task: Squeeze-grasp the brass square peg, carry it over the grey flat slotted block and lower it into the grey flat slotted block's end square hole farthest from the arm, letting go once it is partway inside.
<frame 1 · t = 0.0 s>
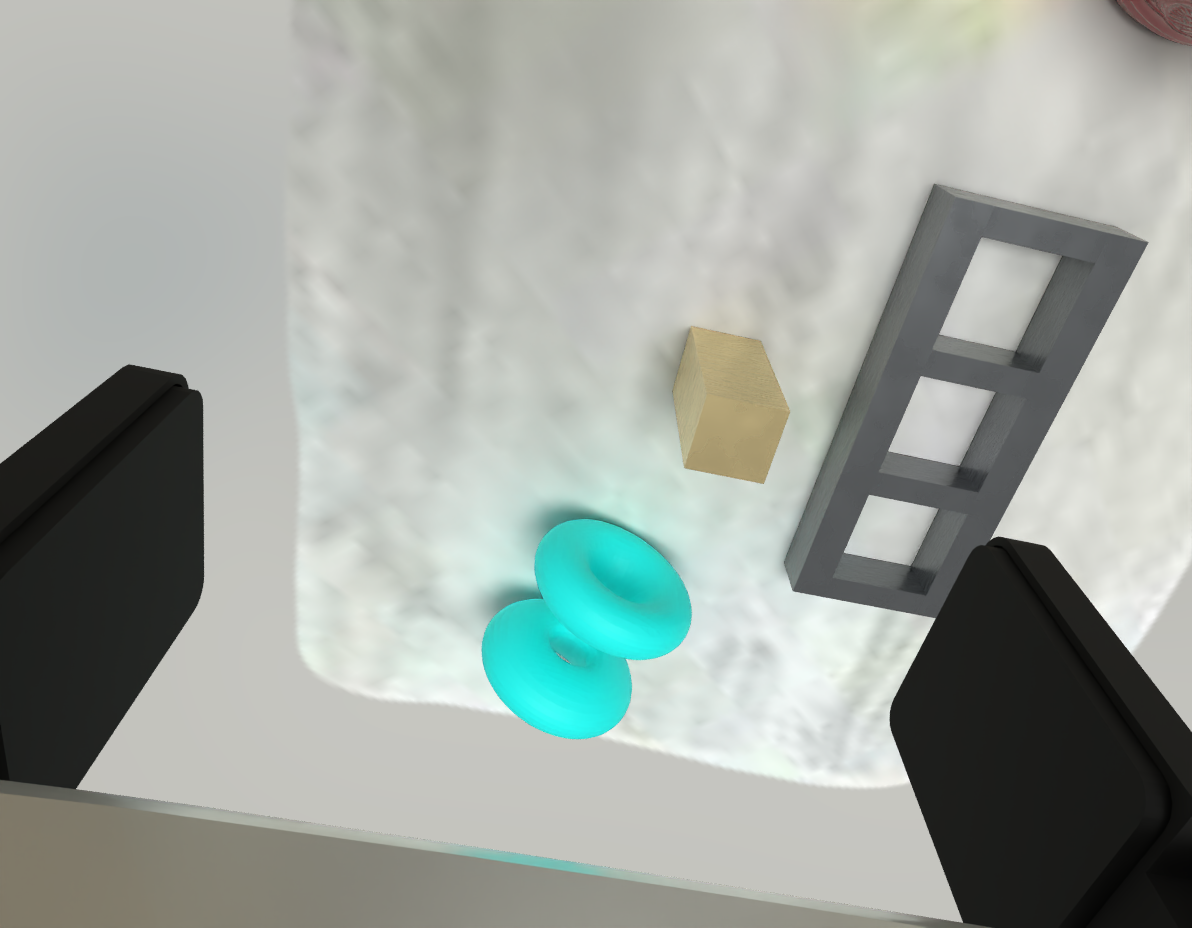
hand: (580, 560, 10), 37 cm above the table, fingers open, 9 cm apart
grey flat slotted block: (932, 412, 50), on the table
brass peg: (715, 366, 49), on the table
donuts: (587, 575, 56), on the table
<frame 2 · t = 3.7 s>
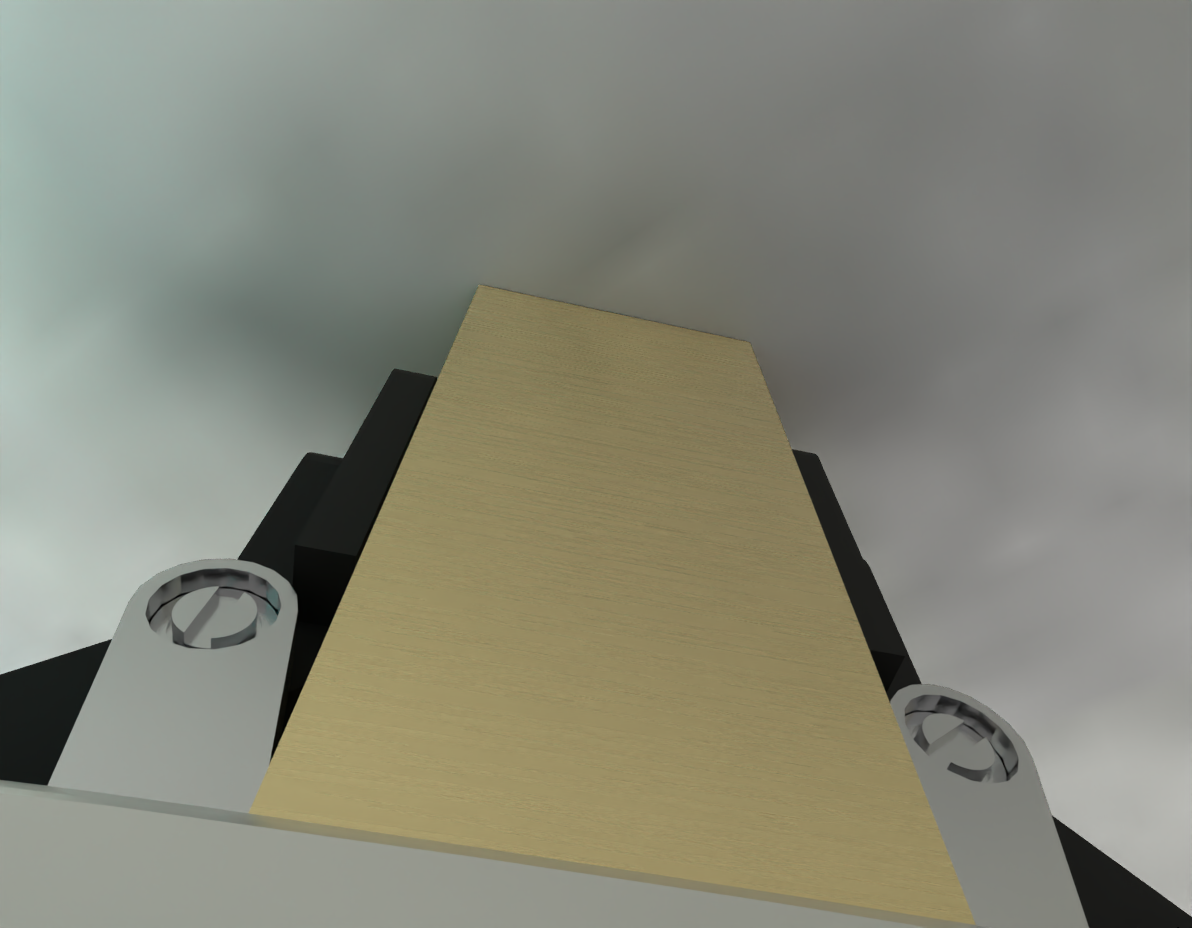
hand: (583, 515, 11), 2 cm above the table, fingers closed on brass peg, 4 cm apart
brass peg: (587, 434, 13), on the table, touching gripper
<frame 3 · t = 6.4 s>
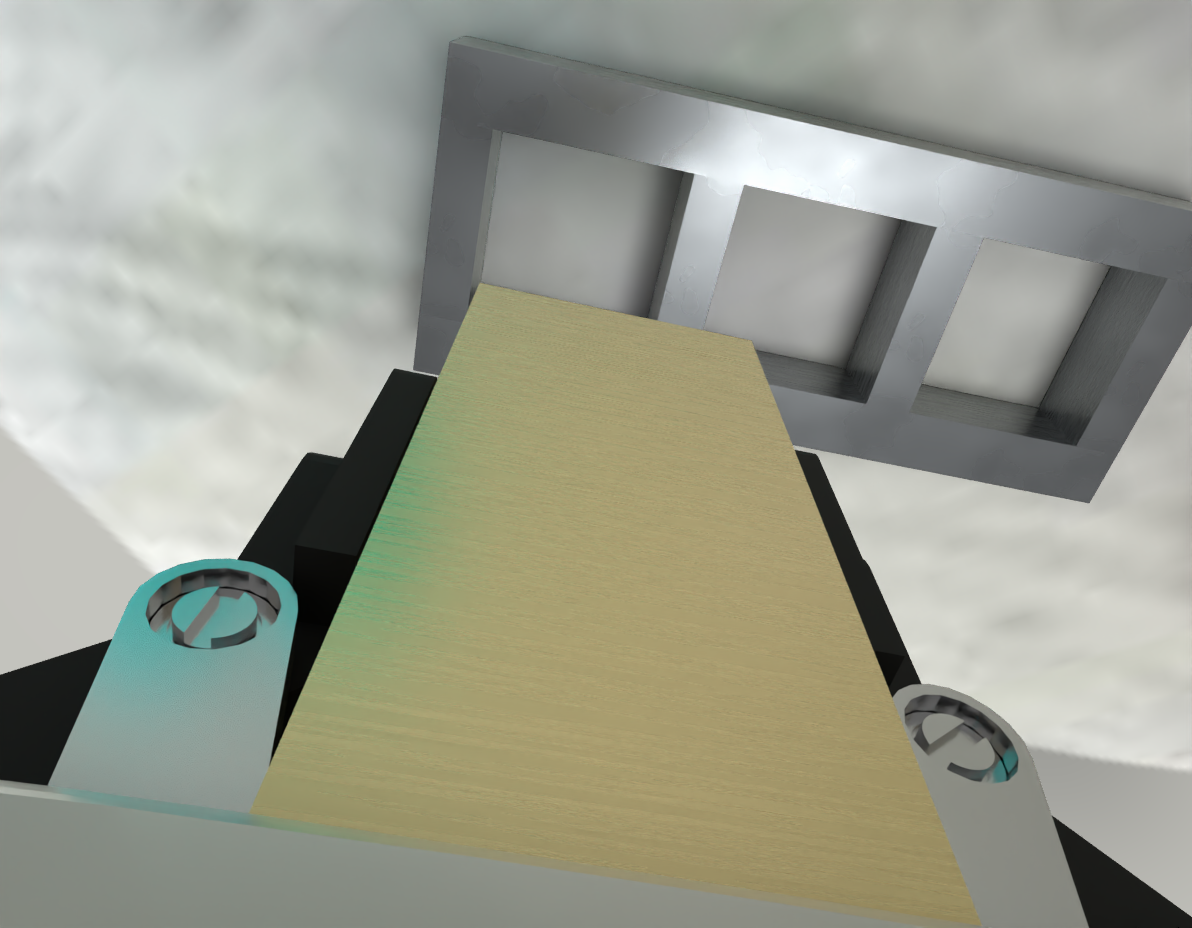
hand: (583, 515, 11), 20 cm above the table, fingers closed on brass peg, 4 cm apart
grey flat slotted block: (792, 272, 30), on the table
brass peg: (588, 433, 13), point 17 cm above the table, touching gripper
when the fingers open (4 cm above the table, at t = 9.2 s): brass peg drops 2 cm, resting in grey flat slotted block.
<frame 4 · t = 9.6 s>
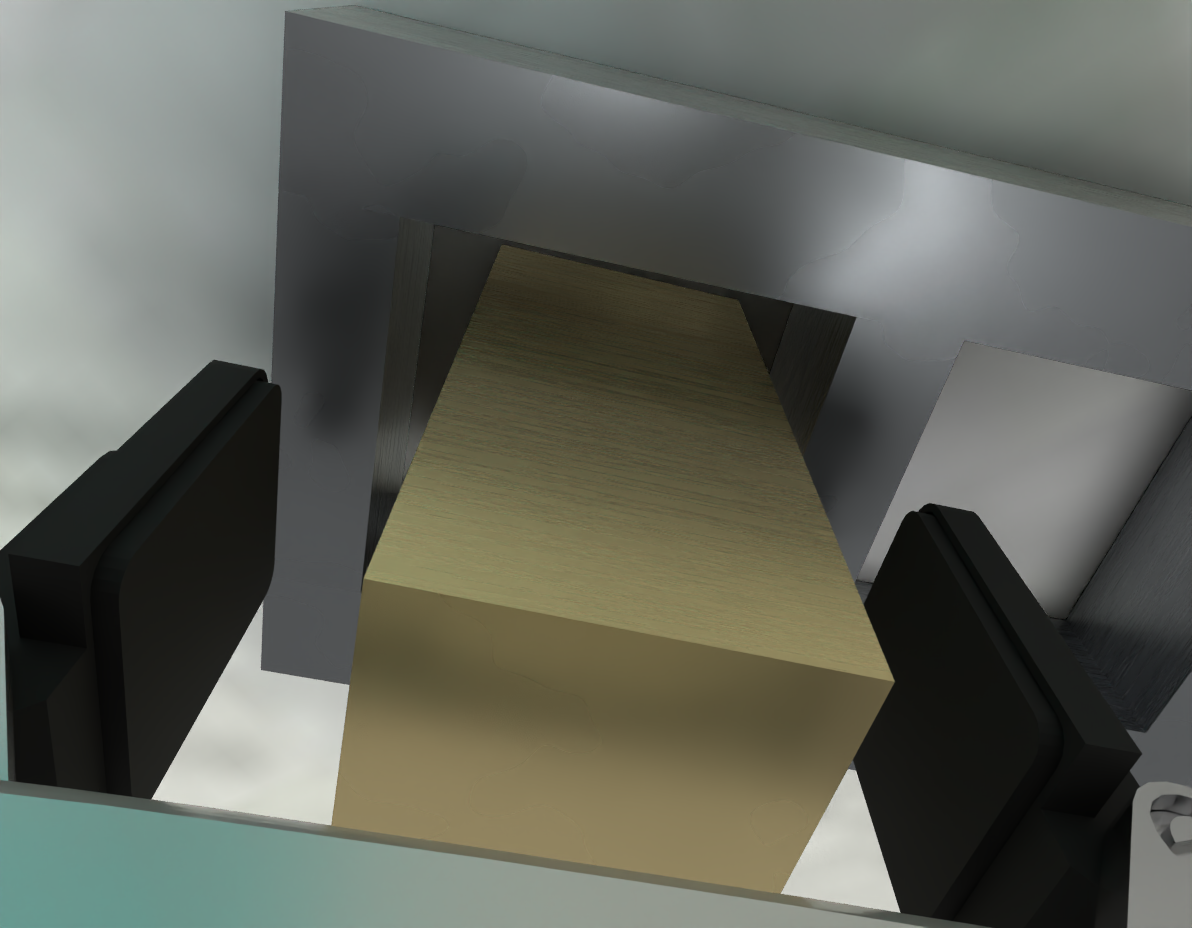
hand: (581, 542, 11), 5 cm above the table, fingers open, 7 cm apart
grey flat slotted block: (991, 466, 16), on the table
brass peg: (593, 381, 15), resting in grey flat slotted block
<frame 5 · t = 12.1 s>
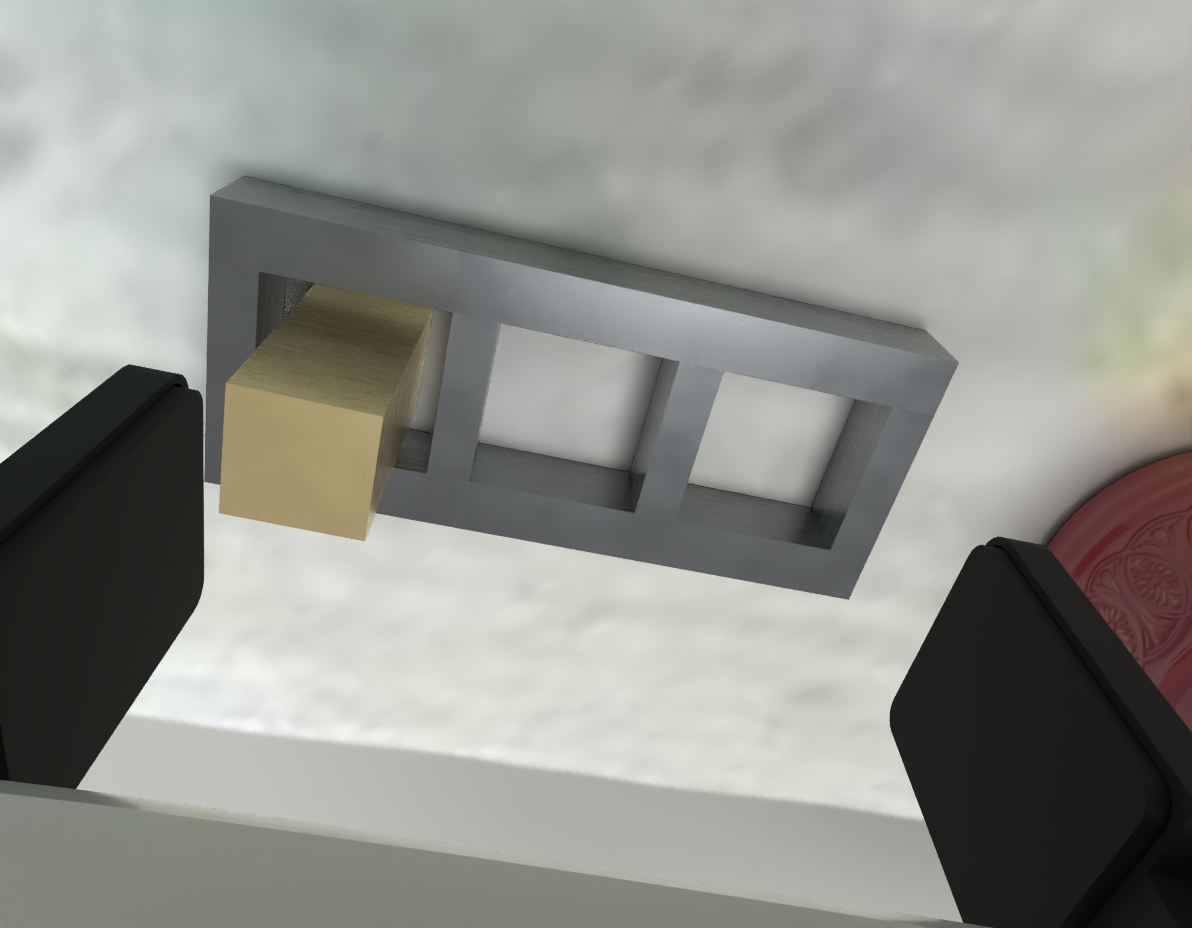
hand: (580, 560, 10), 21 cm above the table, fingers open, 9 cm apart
grey flat slotted block: (571, 388, 32), on the table
brass peg: (369, 344, 31), resting in grey flat slotted block
canister: (1171, 570, 37), on the table
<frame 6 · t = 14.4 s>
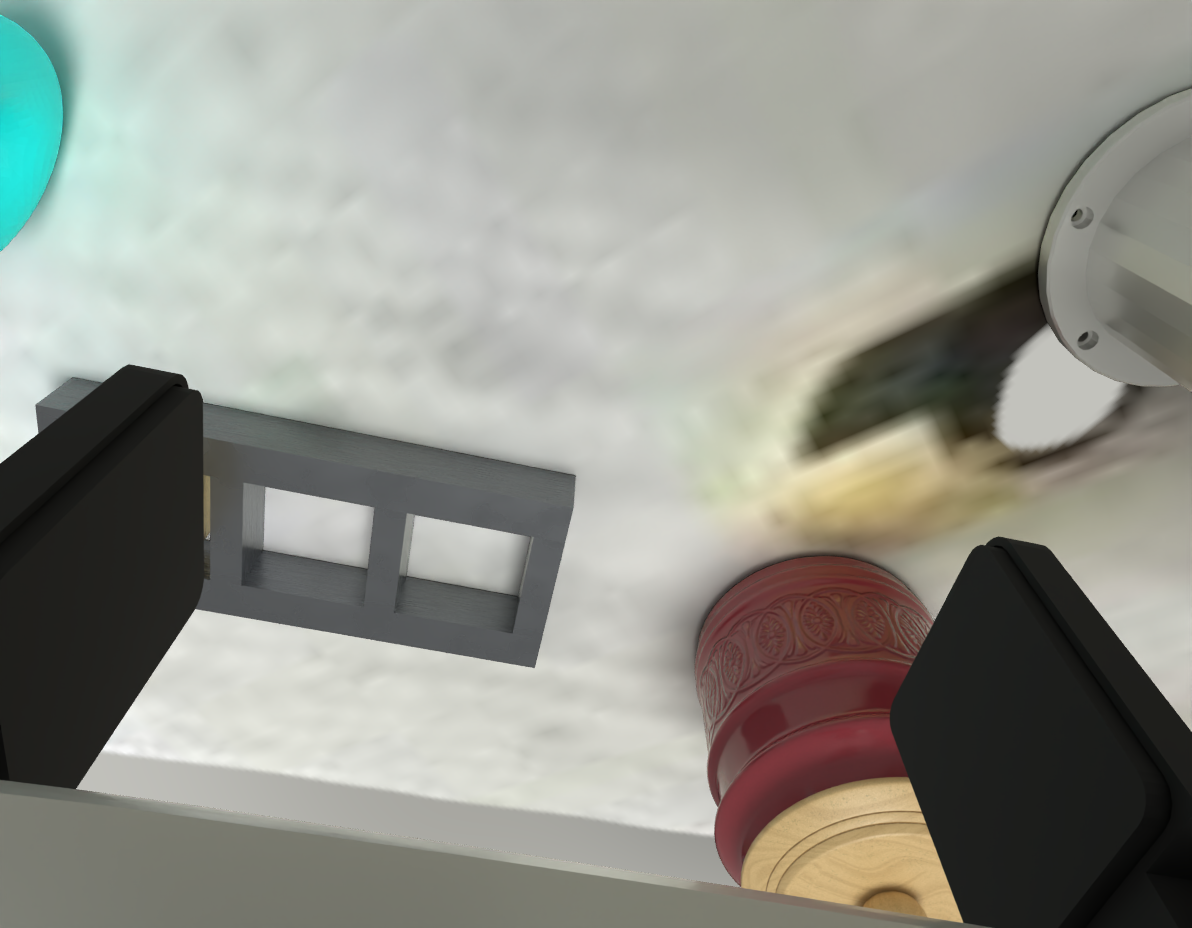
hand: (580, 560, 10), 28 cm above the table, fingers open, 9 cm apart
grey flat slotted block: (324, 513, 44), on the table
brass peg: (174, 484, 43), resting in grey flat slotted block
canister: (809, 643, 48), on the table
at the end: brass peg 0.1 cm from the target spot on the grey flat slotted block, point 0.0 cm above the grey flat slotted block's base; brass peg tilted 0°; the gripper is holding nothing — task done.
